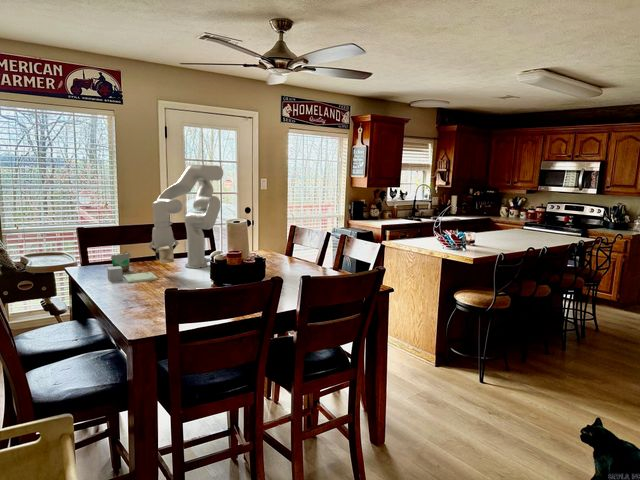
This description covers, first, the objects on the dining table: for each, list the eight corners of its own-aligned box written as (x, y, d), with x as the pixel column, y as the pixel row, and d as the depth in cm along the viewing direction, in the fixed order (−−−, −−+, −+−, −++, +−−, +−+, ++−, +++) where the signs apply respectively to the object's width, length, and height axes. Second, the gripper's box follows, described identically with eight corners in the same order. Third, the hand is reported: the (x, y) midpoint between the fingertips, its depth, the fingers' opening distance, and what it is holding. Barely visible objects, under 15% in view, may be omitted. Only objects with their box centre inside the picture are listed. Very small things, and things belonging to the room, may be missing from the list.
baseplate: (151, 273, 236) (150, 271, 236) (157, 279, 224) (157, 277, 224) (122, 276, 228) (122, 274, 228) (128, 282, 217) (128, 280, 216)
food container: (122, 274, 234) (121, 255, 232) (111, 273, 235) (110, 255, 233) (136, 269, 246) (135, 251, 244) (126, 268, 247) (125, 251, 245)
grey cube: (120, 277, 228) (120, 266, 227) (122, 279, 223) (122, 268, 222) (108, 278, 224) (107, 267, 223) (109, 281, 219) (109, 269, 218)
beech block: (167, 257, 238) (166, 246, 237) (173, 262, 228) (173, 250, 227) (156, 258, 235) (155, 247, 234) (162, 263, 225) (161, 252, 224)
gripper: (176, 222, 235) (179, 254, 239) (142, 225, 226) (145, 259, 230) (180, 224, 229) (183, 257, 233) (146, 227, 220) (149, 262, 224)
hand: (164, 258), depth 231 cm, fingers closed on beech block, 6 cm apart
